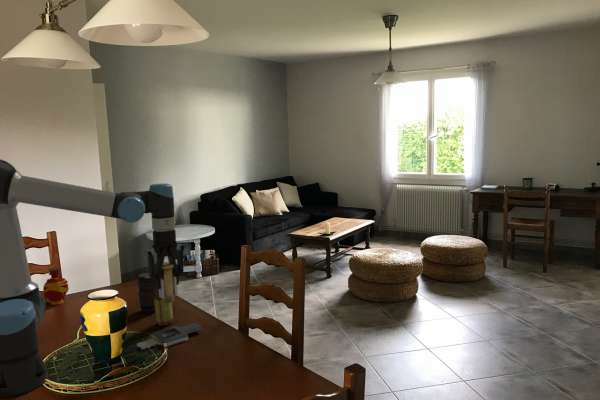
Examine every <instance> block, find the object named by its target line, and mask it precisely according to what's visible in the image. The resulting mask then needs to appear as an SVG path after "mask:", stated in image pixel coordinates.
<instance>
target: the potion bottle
mask: <svg viewBox="0 0 600 400" xmlns="http://www.w3.org/2000/svg"><path fill="white" fill-rule="evenodd" d="M48 271H49V273H48V275H49V276H50V278H48V279H46V282H45V283H44V284H43V289H42V293H43V295H44V296H45V298H47V299H48V300H49V301H51V302H50V305H53V306H55V305H60V304H63V303H64V302H65V301H64V300H63V299H64V298H65V296H66V295H67V293H68V292H69V290H70V289H69V284H68V280H67V279H66V278H64V277H60V276H59V274H61V271H60V268H59V267H54V268H53V267H52V268H49V269H48Z"/></svg>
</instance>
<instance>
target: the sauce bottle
mask: <svg viewBox="0 0 600 400" xmlns="http://www.w3.org/2000/svg"><path fill="white" fill-rule="evenodd" d="M154 304H155V312H154V314H155V320H156V324H157V326H161V327H165V326H169V325H171V324H173V322H174V314H173V313H174V311H173V302H170V303H164V302H163V301H162V298H160V297H159V289H157V288H156V287H155V289H154Z"/></svg>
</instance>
